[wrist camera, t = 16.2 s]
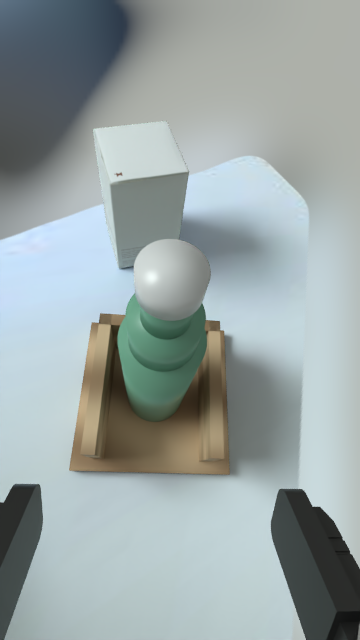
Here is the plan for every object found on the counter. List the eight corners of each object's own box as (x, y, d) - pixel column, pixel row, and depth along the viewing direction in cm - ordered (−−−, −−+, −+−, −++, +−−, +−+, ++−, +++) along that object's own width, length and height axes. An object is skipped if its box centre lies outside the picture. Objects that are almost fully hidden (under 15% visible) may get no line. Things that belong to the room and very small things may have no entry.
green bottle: (116, 393, 31) (75, 265, 12) (155, 357, 33) (172, 199, 14) (154, 434, 30) (172, 359, 11) (192, 394, 32) (264, 274, 13)
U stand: (93, 326, 35) (82, 293, 29) (222, 334, 36) (238, 304, 30) (71, 470, 29) (51, 469, 23) (227, 474, 30) (249, 474, 24)
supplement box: (178, 259, 40) (191, 173, 29) (117, 270, 38) (106, 184, 27) (162, 213, 43) (168, 118, 31) (105, 222, 41) (90, 125, 30)
